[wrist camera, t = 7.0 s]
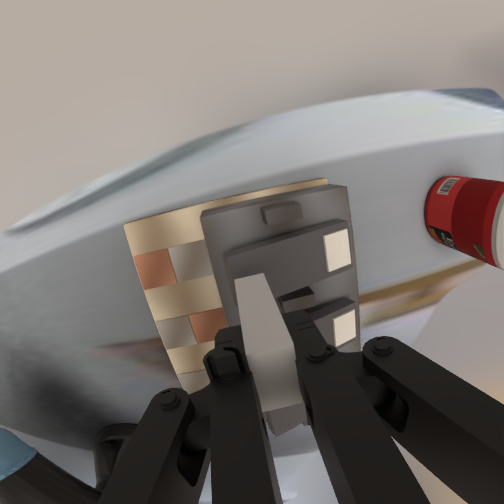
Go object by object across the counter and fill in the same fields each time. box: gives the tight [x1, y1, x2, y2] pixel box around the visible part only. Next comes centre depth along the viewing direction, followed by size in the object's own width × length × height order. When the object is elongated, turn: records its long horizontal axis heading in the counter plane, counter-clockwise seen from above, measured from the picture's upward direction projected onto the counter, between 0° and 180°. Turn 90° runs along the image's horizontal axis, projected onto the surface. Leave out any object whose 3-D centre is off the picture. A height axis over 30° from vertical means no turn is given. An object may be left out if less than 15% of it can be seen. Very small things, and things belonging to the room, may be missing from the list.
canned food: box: [425, 176, 504, 270], centre depth 23 cm, size 8×8×11 cm
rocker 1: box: [222, 219, 353, 309], centre depth 20 cm, size 9×4×1 cm, turn 102°
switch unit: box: [124, 178, 361, 426], centre depth 25 cm, size 18×22×7 cm
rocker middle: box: [309, 297, 357, 349], centre depth 22 cm, size 9×4×1 cm, turn 102°
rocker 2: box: [265, 397, 307, 437], centre depth 24 cm, size 9×4×1 cm, turn 102°
